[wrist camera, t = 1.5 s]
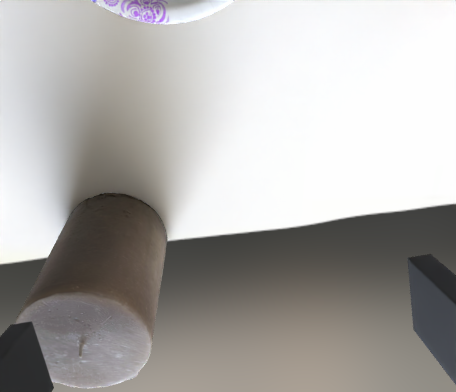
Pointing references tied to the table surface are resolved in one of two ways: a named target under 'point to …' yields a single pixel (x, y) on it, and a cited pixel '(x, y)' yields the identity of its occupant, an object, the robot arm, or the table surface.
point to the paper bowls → (163, 9)
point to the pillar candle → (99, 292)
